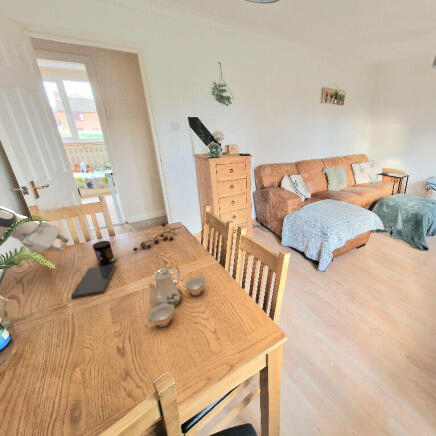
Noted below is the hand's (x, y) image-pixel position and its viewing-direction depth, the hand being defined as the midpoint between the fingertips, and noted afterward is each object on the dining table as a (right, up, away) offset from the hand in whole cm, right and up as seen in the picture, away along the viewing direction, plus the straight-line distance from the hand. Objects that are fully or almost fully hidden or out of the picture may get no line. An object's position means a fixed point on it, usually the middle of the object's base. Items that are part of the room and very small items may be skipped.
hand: (65, 245), depth 107 cm
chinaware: (+55, -22, -13) cm, 61 cm away
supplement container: (+10, -10, +10) cm, 18 cm away
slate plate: (+16, -15, -3) cm, 22 cm away
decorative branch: (+25, -1, +32) cm, 41 cm away
